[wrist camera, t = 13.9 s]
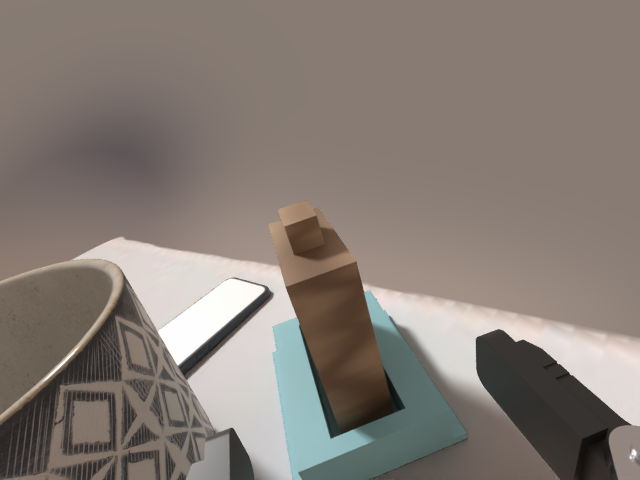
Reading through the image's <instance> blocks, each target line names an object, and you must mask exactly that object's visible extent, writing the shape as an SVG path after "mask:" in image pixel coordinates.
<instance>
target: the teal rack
mask: <svg viewBox="0 0 640 480" xmlns="http://www.w3.org/2000/svg"><path fill="white" fill-rule="evenodd" d="M364 294H365V298H366V302H367V306H368V310H369V314H370V318H371V322H372V326H373V330H374V334H375V338H376V342H377V346H378V350H379V354H380V357H381V361H382V365H383V369H384V373H385V377H386V381H387V385H388V389H389V393H390V397H391V401H392V405H393V409H394V413H393V414H390V415H388V416H385V417H383V418H381V419H378V420H376V421H373V422H371V423H368V424H366V425H363V426H361V427H358V428H356V429H354V430H351V431H349V432H346V433H344V434H341V432H340V429H339V427H338V424H337V421H336V419H335V416H334V413H333V411H332V408H331V405H330V403H329V400H328V398H327V395H326V392H325V390H324V387H323V384H322V382H321V379H320V376H319V374H318V371H317V368H316V366H315V363H314V361H313V358H312V355H311V353H310V350H309V347H308V345H307V342H306V339H305V337H304V334H303V332H302V329H301V326H300V324H299V321H298V318H294V319H291V320H289V321H286V322H283V323H280V324H278V325H275V326H273V332H274V338H275V343H276V349H277V351H275V352H273V359H274V365H275V371H276V378H277V384H278V390H279V397H280V403H281V409H282V416H283V422H284V428H285V435H286V441H287V447H288V454H289V460H290V466H291V473H292V479H293V480H370V479H372V478H375V477H377V476H379V475H382V474H384V473H386V472H389V471H391V470H394V469H396V468H398V467H401V466H403V465H405V464H408V463H410V462H412V461H415V460H417V459H419V458H422V457H424V456H427V455H429V454H431V453H434V452H436V451H438V450H441V449H443V448H445V447H448V446H450V445H453V444H455V443H457V442H460V441H462V440H464V439H467V438H468V436H467V432H466V430H465V429H464V427H463V426H462V424H461V423H460V421H459V420H458V418H457V417H456V415H455V414H454V412H453V411H452V409H451V408H450V406H449V405H448V403H447V402H446V400H445V399H444V398H443V396H442V395H441V393H440V392H439V390H438V389H437V387H436V386H435V384H434V383H433V381H432V380H431V378H430V377H429V375H428V374H427V372H426V371H425V369H424V368H423V366H422V365H421V363H420V362H419V360H418V359H417V357H416V356H415V354H414V353H413V351H412V350H411V348H410V347H409V346H408V344H407V343H406V341H405V340H404V338H403V337H402V335H401V334H400V332H399V331H398V329H397V328H396V326H395V325H394V323H393V322H392V320H391V319H390V317H389V316H388V314H387V313H386V311H385V310H384V311H383V309H382V308H381V306H380V305H379V303H378V302H377V300H376V299H375V297H374V296H373V294H372V293H371V291H367V292H364Z"/></svg>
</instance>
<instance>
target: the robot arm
mask: <svg viewBox="0 0 640 480" xmlns="http://www.w3.org/2000/svg"><path fill="white" fill-rule="evenodd" d="M476 369H477V374H478V376H479V379H480V381H481V383H482V384H483V386H484V387H485V389H486V390H487V391H488V392H489V394H490V395H491V396H492V397H493V398H494V400H495V401H496V402H497V403H498V404H499V406H500V407H501V408H502V409H503V411H504V412H505V413H506V414H507V415H508V417H509V418H510V419H511V420H512V421H513V423H514V424H515V425H516V426H517V427H518V429H519V430H520V431H521V432H522V434H523V435H524V436H525V437H526V438H527V440H528V441H529V442H530V443H531V444H532V446H533V447H534V448H535V449H536V450H537V452H538V453H539V454H540V455H541V457H542V458H543V459H544V460H545V461H546V463H547V464H548V465H549V466H550V467H551V469H552V470H553V471H554V472H555V473H556V475H557V476H558V477H559V478H560V480H640V427H639V426H633V425H631V424H629V423H628V422H626V421H625V420H624V419H622V418H621V417H620V416H619V415H618V414H616V413H615V412H614V411H613V410H612V409H611V408H609V407H608V406H607V405H606V404H605V403H604V402H603V401H601V400H600V399H599V398H598V397H597V396H596V395H594V394H593V393H592V392H591V391H590V390H589V389H588V388H586V387H585V386H584V385H583V384H582V383H581V382H580V381H578V380H577V379H576V378H575V377H574V376H573V375H572V376H571V375H570V374H569V372H568V371H567V370H566V369H565V368H563V367H562V366H561V365H560V364H559V365H558V364H557V362H556V361H555V360H554V359H553V358H552V357H551V356H550V355H548V354H547V353H546V352H545V351H544V350H543V349H541V348H539V347H537V346H535V345H533V344H531V343H529V342H527V341H525V340H520V341H518V342H515V341H514V340H513V339H512V338H511V337H510V336H509V335H508V334H507V333H505V332H504V331H503V330H500V329H498V330H495V331H492V332H490V333H487V334H484V335H482V336H479V337H477V338H476ZM186 480H254V475H253V469H252V465H251V461H250V458H249V456H248V454H247V452H246V450H245V448H244V447H243V445H242V443H241V441H240V439H239V437H238V436H237V434H236V432H235V430H234V429H233V428H230V429H227V430H224V431H221V432H219V433H216V434H213V435H211V436H208V437H207V438H206V441H205V452H204V460H202V461H199V462H197V463H194V464H192V466H191V468H190V470H189V473H188V475H187V477H186Z"/></svg>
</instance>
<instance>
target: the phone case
mask: <svg viewBox="0 0 640 480" xmlns="http://www.w3.org/2000/svg"><path fill="white" fill-rule="evenodd" d="M269 296H270V291H269V288H268V287H267V286H264V285H261V284H257V283H253V282H250V281H246V280H242V279H239V278H229V279H227V280H225V281H224V282H222V283H221V284H220V285H218V286H217V287H216V288H214V289H213V290H212V291H210V292H209V293H208V294H206V295H205V296H204V297H202V298H201V299H200V300H198V301H197V302H196V303H194V304H193V305H192V306H190V307H189V308H188V309H186V310H185V311H184V312H182V313H181V314H180V315H178V316H177V317H176V318H174V319H173V320H172V321H170V322H169V323H168V324H166V325H165V326H164V327H162V328H161V329H160V330H158V333H159V335H160V337H161V338H162V340H163V342H164V343H165V345H166V347H167V348H168V350H169V352H170V354H171V355H172V357H173V359H174V360H175V362H176V364H177V365H178V367H179V369H180V371H181V372H182V374H183V375H184V374H186V373H187V372H188V371H189V370H190V369H191V368H192V367H193V366H194V365H196V364H197V363H198V362H199V361H200V360H201V359H202V358H203V357H204V356H205V355H207V354H208V353H209V352H210V351H211V350H212V349H213V348H214V347H215V346H216V345H218V344H219V343H220V342H221V341H222V340H223V339H224V338H225V337H226V336H227V335H228V334H230V333H231V332H232V331H233V330H234V329H235V328H236V327H237V326H238V325H239V324H240V323H242V322H243V321H244V320H245V319H246V318H247V317H248V316H249V315H250V314H251V313H252V312H254V311H255V310H256V309H257V308H258V307H259V306H260V305H261V304H262V303H263V302H264V301H266V300H267V299H268V298H269Z"/></svg>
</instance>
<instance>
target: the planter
mask: <svg viewBox="0 0 640 480" xmlns="http://www.w3.org/2000/svg"><path fill="white" fill-rule="evenodd" d="M213 434H214V430H213V428H212V425H211V423H210V421H209V419H208V417H207V415H206V413H205V411H204V410H203V408H202V406H201V405H200V403H199V401H198V399H197V398H196V396H195V394H194V393H193V391H192V389H191V388H190V386H189V384H188V382H187V381H186V379H185V377H184V376H183V374H182V372H181V371H180V369H179V367H178V365H177V364H176V362H175V360H174V359H173V357H172V355H171V354H170V352H169V350H168V348H167V347H166V345H165V343H164V342H163V340H162V338H161V337H160V335H159V333H158V331H157V330H156V328H155V326H154V325H153V323H152V321H151V319H150V318H149V316H148V314H147V313H146V311H145V309H144V308H143V306H142V304H141V302H140V301H139V299H138V297H137V296H136V294H135V292H134V291H133V289H132V287H131V285H130V284H129V282H128V280H127V279H126V277H125V275H124V274H123V272H122V270H121V269H120V267H119V266H117V265H116V264H114V263H112V262H110V261H107V260H102V259H80V260H72V261H67V262H62V263H57V264H53V265H49V266H45V267H42V268H38V269H35V270H32V271H29V272H25V273H23V274H19V275H17V276H14V277H11V278H8V279H5V280H3V281H0V480H186V477H187V475H188V473H189V470H190V468H191V466H192V464H194V463H197V462H199V461H202V460H204V452H205V441H206V438H207V437H208V436H211V435H213Z"/></svg>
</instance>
